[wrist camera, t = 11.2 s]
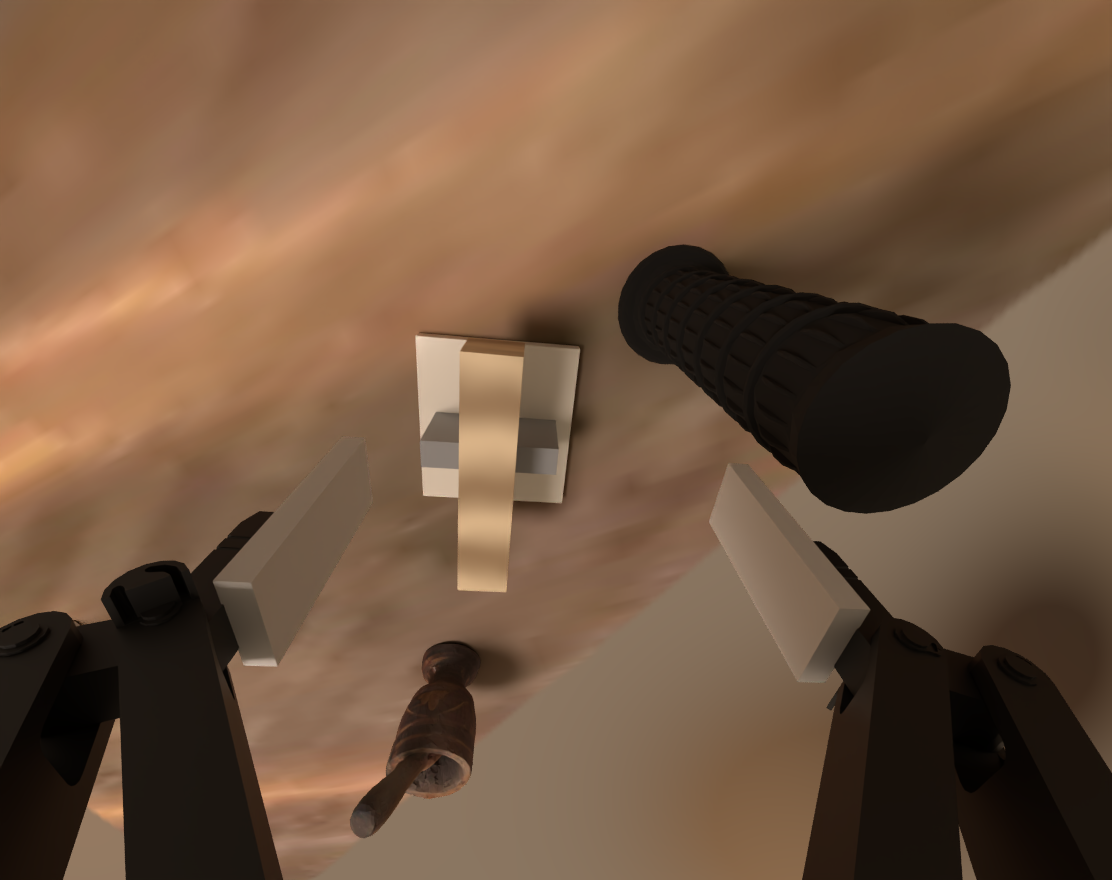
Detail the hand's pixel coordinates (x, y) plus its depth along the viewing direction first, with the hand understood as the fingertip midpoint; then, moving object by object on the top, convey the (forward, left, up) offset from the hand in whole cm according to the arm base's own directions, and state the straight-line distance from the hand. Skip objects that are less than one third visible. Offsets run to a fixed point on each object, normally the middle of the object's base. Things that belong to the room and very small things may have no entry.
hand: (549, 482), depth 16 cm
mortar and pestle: (+42, -10, -25) cm, 49 cm away
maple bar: (+9, -3, -17) cm, 20 cm away
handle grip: (-3, +11, -25) cm, 27 cm away
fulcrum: (+9, -4, -24) cm, 26 cm away
